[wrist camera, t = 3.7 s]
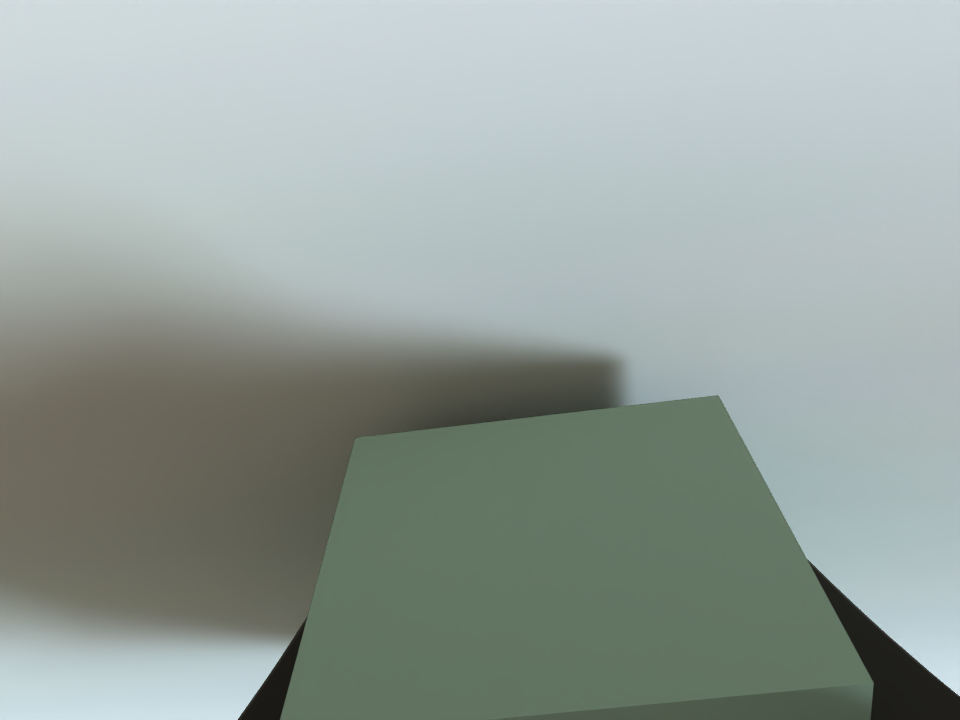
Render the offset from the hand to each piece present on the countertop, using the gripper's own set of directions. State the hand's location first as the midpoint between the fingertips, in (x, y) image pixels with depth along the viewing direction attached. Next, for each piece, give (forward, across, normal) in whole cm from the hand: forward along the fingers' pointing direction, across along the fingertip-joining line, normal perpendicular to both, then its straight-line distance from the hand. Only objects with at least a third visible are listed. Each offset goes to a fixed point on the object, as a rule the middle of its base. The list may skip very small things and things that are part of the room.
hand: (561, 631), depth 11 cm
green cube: (+1, 0, 0) cm, 1 cm away
